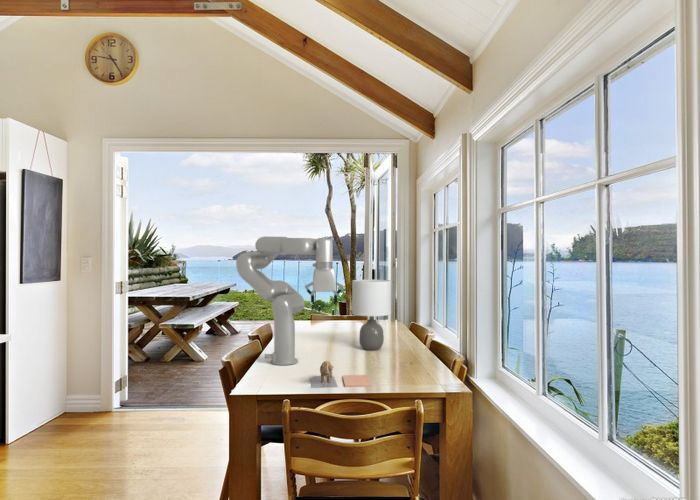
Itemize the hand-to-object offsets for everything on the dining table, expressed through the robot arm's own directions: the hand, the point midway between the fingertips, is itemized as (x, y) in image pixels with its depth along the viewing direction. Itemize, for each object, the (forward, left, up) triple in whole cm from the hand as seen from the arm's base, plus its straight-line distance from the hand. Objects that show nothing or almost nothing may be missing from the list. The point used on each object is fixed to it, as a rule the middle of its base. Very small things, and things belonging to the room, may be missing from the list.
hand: (324, 304), depth 223 cm
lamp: (+27, +42, -28) cm, 57 cm away
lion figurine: (+1, -23, -28) cm, 37 cm away
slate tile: (-1, -25, -30) cm, 39 cm away
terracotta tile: (+12, -25, -29) cm, 40 cm away
